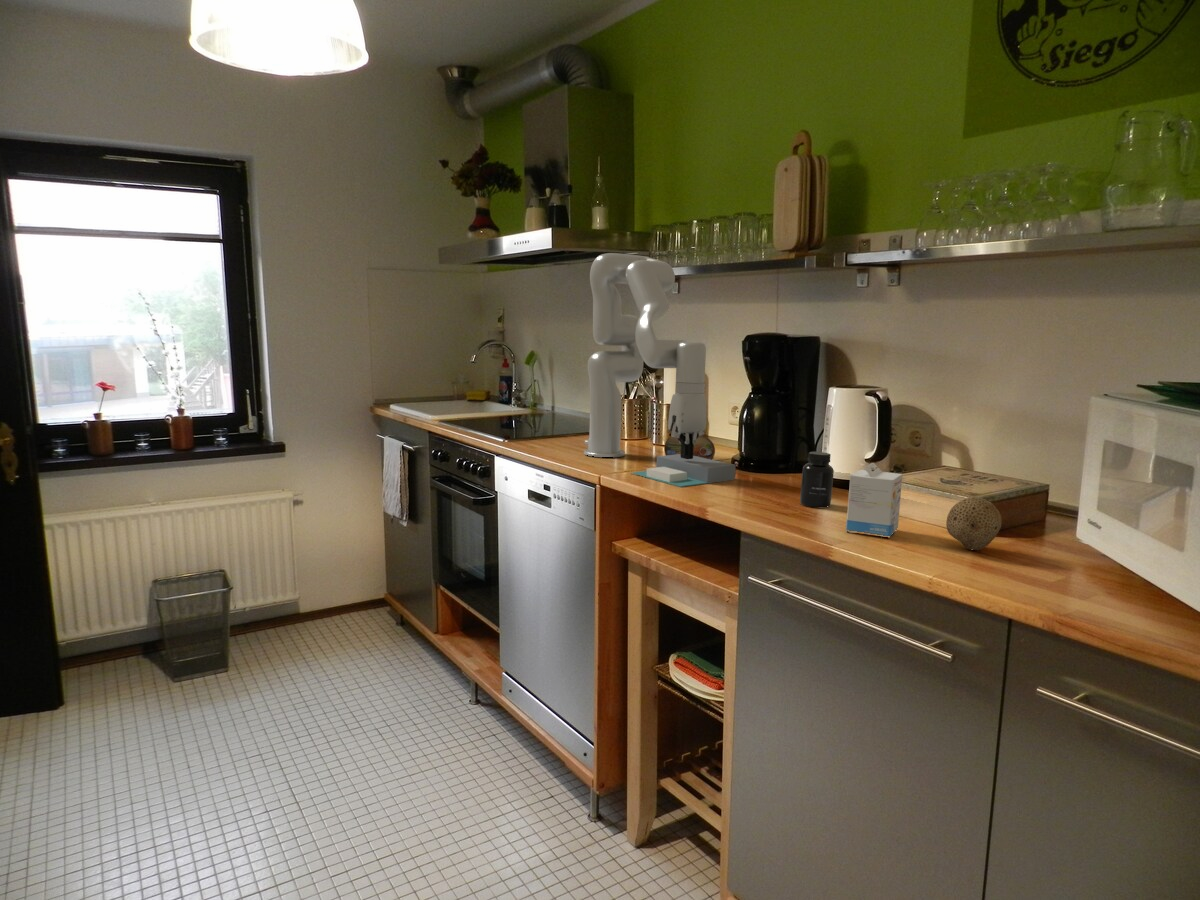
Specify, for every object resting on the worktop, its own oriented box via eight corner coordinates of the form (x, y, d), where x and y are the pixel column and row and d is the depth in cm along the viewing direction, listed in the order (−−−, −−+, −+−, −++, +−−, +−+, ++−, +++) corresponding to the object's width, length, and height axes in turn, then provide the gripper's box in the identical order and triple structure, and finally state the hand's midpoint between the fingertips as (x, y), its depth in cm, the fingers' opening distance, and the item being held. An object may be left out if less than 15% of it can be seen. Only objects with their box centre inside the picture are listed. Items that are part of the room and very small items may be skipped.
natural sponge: (972, 559, 136) (978, 504, 135) (932, 546, 144) (937, 494, 143) (1008, 554, 140) (1014, 501, 138) (967, 541, 148) (973, 490, 146)
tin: (663, 461, 227) (664, 433, 226) (667, 460, 230) (668, 432, 229) (711, 467, 220) (713, 438, 219) (715, 465, 223) (717, 436, 222)
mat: (630, 473, 207) (630, 472, 207) (656, 470, 213) (656, 469, 213) (680, 487, 192) (680, 486, 192) (707, 483, 197) (707, 482, 197)
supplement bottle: (814, 509, 171) (818, 456, 170) (793, 503, 177) (797, 451, 175) (837, 506, 175) (841, 454, 173) (816, 500, 181) (819, 450, 179)
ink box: (889, 539, 148) (895, 471, 146) (844, 532, 153) (850, 466, 150) (898, 530, 155) (904, 464, 153) (855, 523, 160) (861, 460, 158)
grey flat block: (656, 470, 213) (656, 456, 212) (683, 467, 219) (683, 453, 218) (707, 483, 197) (707, 468, 196) (734, 479, 203) (735, 464, 202)
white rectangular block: (663, 466, 206) (663, 474, 207) (646, 468, 203) (646, 476, 203) (687, 472, 199) (686, 479, 200) (669, 474, 196) (669, 482, 196)
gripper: (700, 387, 210) (697, 454, 212) (658, 388, 201) (656, 458, 204) (720, 389, 204) (716, 458, 207) (678, 391, 195) (675, 462, 198)
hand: (686, 458), depth 205 cm, fingers closed
